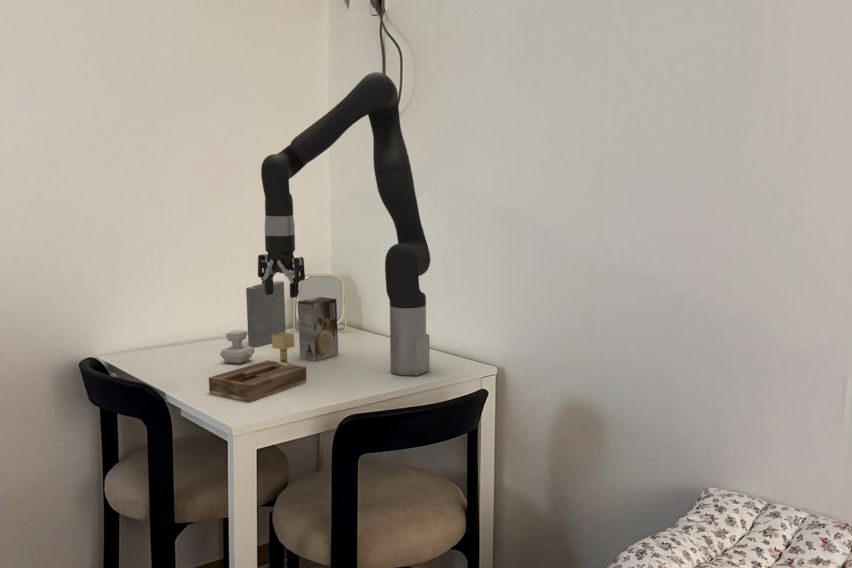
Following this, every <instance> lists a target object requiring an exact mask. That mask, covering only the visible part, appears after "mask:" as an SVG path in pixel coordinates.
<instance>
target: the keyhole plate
mask: <svg viewBox="0 0 852 568" xmlns="http://www.w3.org/2000/svg"><path fill="white" fill-rule="evenodd" d="M306 383H307V367H306V366H302V365H301V366H300V365H296V364H292V365H291V364H290V363H284V362H280V361H279V362H278V361H274V360H267V359H266V360H263V361H260V362H257V363H254V364H251V365H246V366H243V367H239V368H236V369H233V370H230V371H227V372H223V373H220V374H216V375H213V376H210V377H208V390H209V391H208V393H209V394H210V395H211V394H212V395H216V396H220V397H224V398H228V399H233V400H236V401H237V400H238V401H243V402H246V403H251V402H254V401H257V400H261V399H262V398H266V397H268V396H271V395H274V394H277V393H281V392H282V391H286V390H289V389H291V388H294V387H297V386H300V385H304V384H306Z"/></svg>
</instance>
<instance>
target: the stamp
mask: <svg viewBox="0 0 852 568" xmlns="http://www.w3.org/2000/svg"><path fill="white" fill-rule="evenodd" d="M225 335H226V336H225V337H226V339H227V341H228V342H231V343H232V345H231V346H229V347H225V348H223V349H222V350H221V351H220V353H219V356H220V357H221V358H222V359H223V360H224V361H225V362H226V363H229V364H243V363H244V362H247V361H249V360H250V359H251V358H252V357H253V354H254V353H255V348H253V347H250V346H248V345H243V343H242V342H243V341H244V340H246V339H247V337H248V330H240V329H233V330H231V331H229V332H227V333H225Z"/></svg>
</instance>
